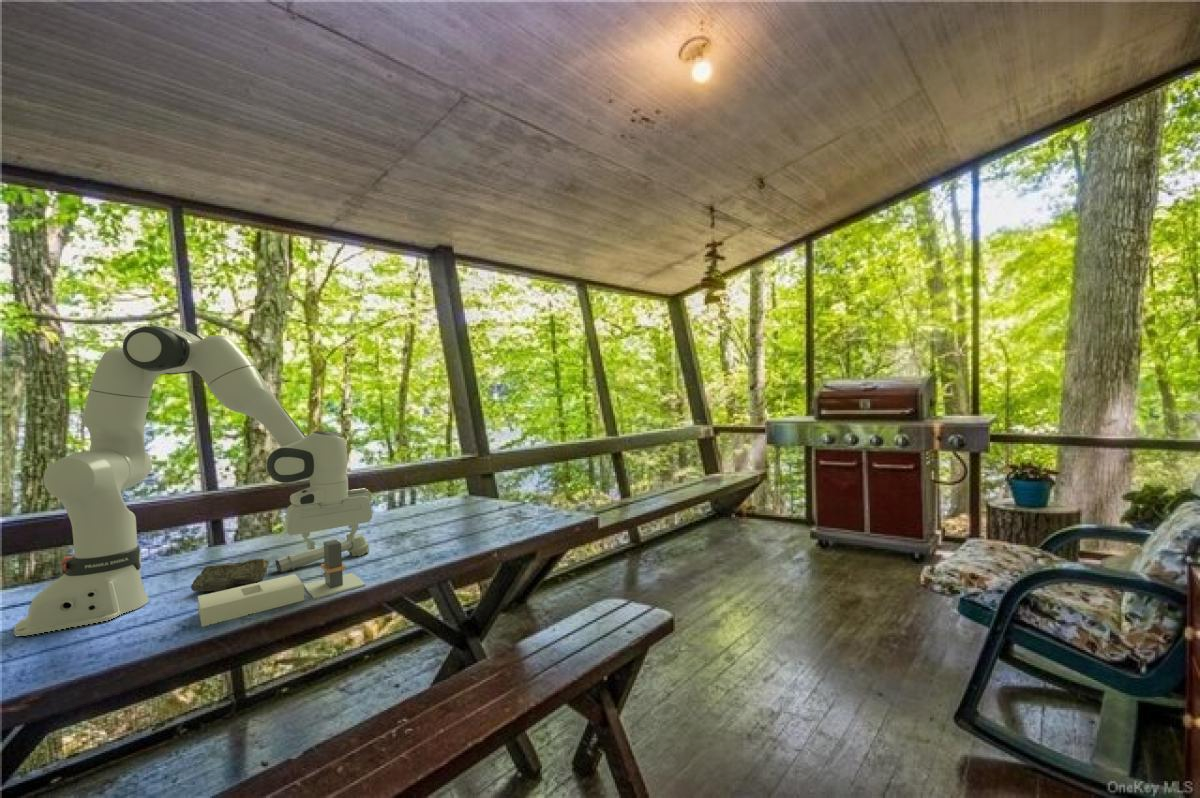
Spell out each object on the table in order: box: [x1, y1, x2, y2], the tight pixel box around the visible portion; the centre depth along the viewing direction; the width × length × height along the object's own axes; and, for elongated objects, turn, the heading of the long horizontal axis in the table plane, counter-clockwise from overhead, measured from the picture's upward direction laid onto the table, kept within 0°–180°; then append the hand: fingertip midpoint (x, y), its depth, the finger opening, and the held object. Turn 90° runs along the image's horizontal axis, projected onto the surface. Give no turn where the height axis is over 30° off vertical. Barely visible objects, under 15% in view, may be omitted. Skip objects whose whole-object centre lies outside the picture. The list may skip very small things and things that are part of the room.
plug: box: [320, 539, 347, 588], centre depth 136 cm, size 4×6×11 cm
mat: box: [303, 572, 367, 600], centre depth 136 cm, size 12×12×1 cm
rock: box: [190, 558, 270, 592], centre depth 139 cm, size 17×7×10 cm
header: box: [197, 573, 305, 628], centre depth 124 cm, size 20×10×4 cm, turn 131°
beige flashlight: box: [275, 534, 371, 574], centre depth 157 cm, size 5×7×25 cm
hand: (331, 545), depth 136 cm, fingers open, 8 cm apart
